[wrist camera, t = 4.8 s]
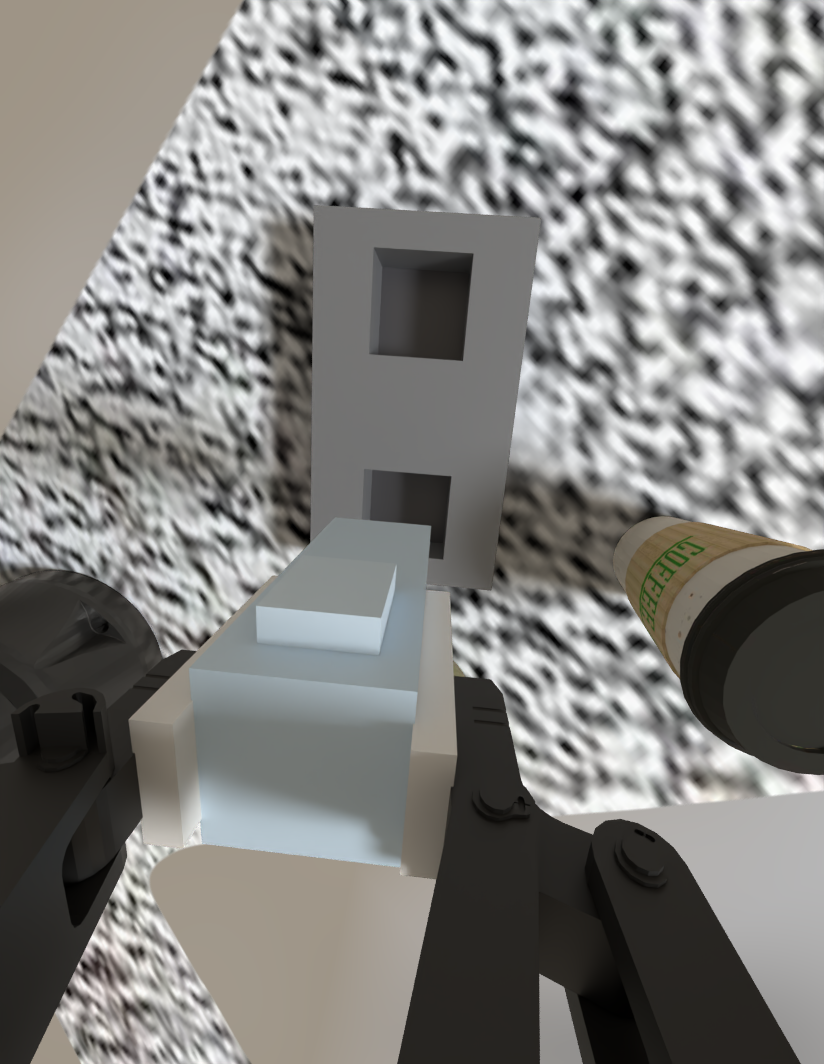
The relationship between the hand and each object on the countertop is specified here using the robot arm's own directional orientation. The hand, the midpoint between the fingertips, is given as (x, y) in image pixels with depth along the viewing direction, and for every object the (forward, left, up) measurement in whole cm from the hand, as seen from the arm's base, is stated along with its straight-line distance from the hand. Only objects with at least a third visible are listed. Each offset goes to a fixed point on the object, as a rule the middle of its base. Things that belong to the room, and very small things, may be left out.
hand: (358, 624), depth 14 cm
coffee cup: (+18, -2, -19) cm, 26 cm away
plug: (0, 0, -5) cm, 5 cm away
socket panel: (0, +6, -19) cm, 19 cm away
